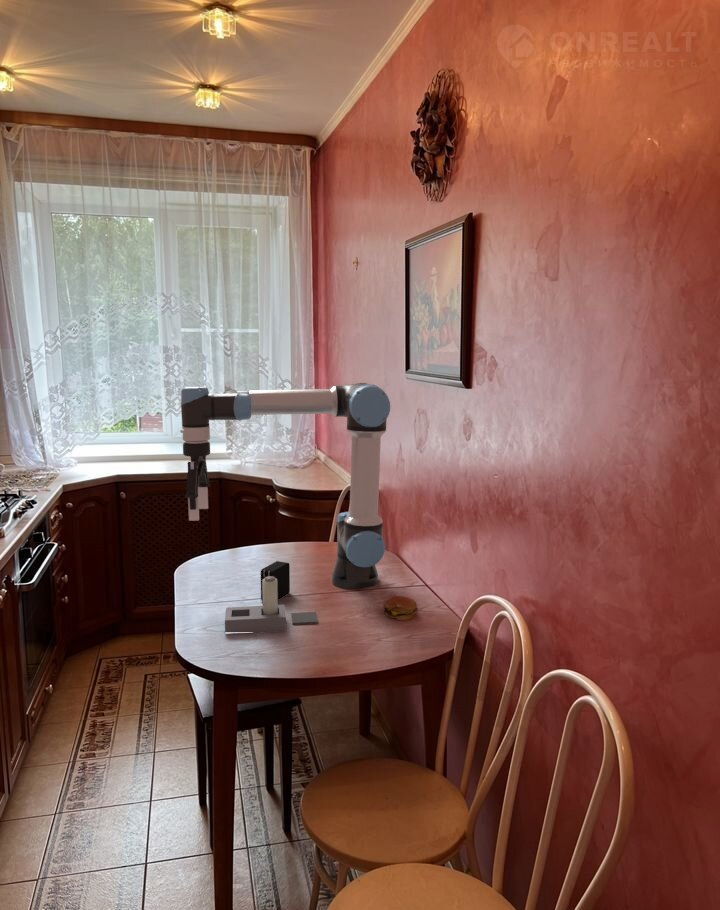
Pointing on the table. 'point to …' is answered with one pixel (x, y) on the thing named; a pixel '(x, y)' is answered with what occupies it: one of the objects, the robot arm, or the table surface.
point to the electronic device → (278, 577)
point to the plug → (270, 596)
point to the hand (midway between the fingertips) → (198, 514)
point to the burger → (400, 607)
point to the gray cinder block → (254, 620)
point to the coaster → (304, 618)
